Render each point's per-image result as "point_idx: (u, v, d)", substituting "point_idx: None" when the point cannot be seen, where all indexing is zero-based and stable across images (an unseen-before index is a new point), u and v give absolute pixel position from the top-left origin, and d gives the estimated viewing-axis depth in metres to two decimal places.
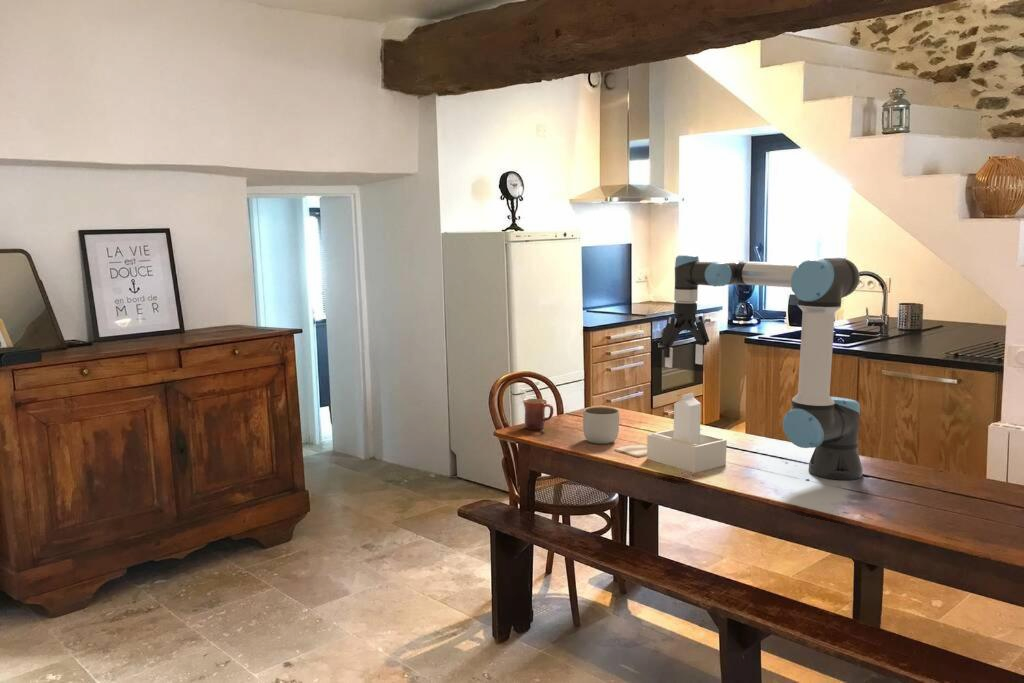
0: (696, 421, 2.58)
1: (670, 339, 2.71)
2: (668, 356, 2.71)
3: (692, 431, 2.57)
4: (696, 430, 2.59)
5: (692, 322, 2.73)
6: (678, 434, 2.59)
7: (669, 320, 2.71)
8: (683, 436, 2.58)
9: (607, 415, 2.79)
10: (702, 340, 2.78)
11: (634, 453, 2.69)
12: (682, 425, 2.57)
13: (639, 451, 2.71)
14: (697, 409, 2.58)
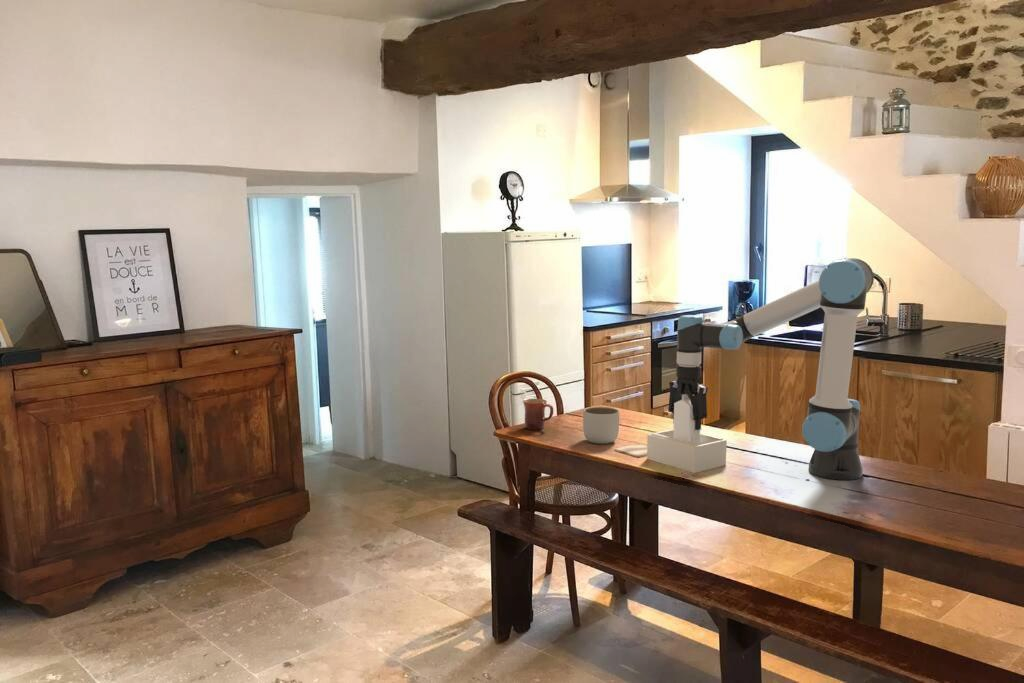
0: None
1: None
2: None
3: None
4: None
5: (687, 387, 2.56)
6: (678, 434, 2.59)
7: None
8: (683, 436, 2.58)
9: (607, 415, 2.80)
10: (694, 414, 2.55)
11: (634, 453, 2.69)
12: (682, 425, 2.57)
13: (639, 451, 2.71)
14: None
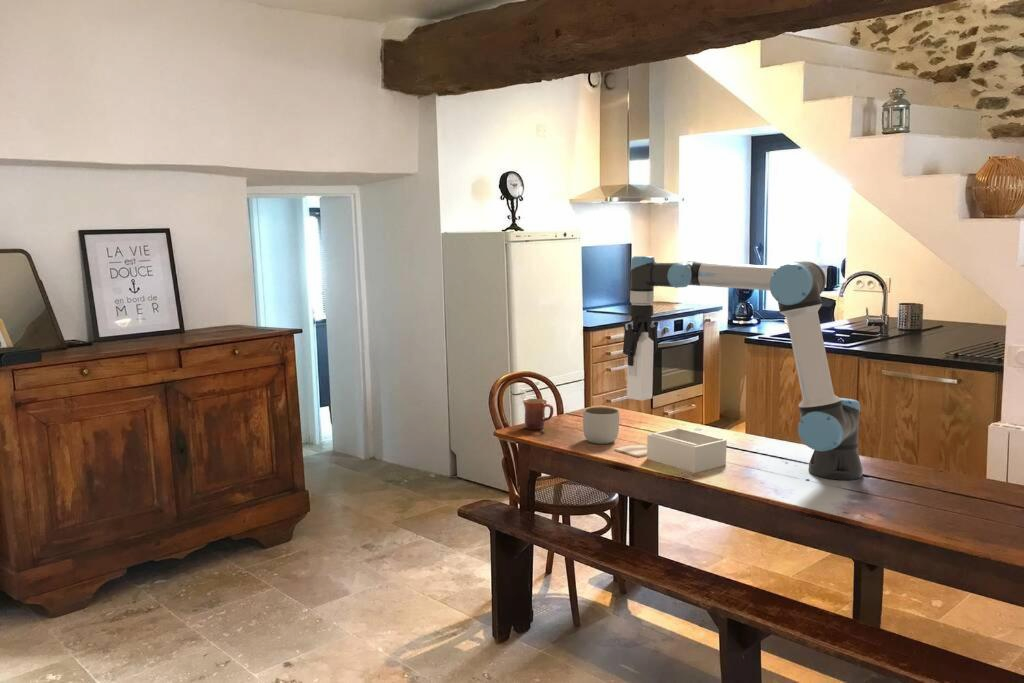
0: None
1: (632, 346, 2.66)
2: (632, 364, 2.67)
3: None
4: None
5: (648, 324, 2.68)
6: (645, 372, 2.68)
7: (626, 326, 2.65)
8: (649, 372, 2.69)
9: (607, 415, 2.80)
10: None
11: (634, 453, 2.69)
12: (648, 361, 2.68)
13: (639, 451, 2.71)
14: None
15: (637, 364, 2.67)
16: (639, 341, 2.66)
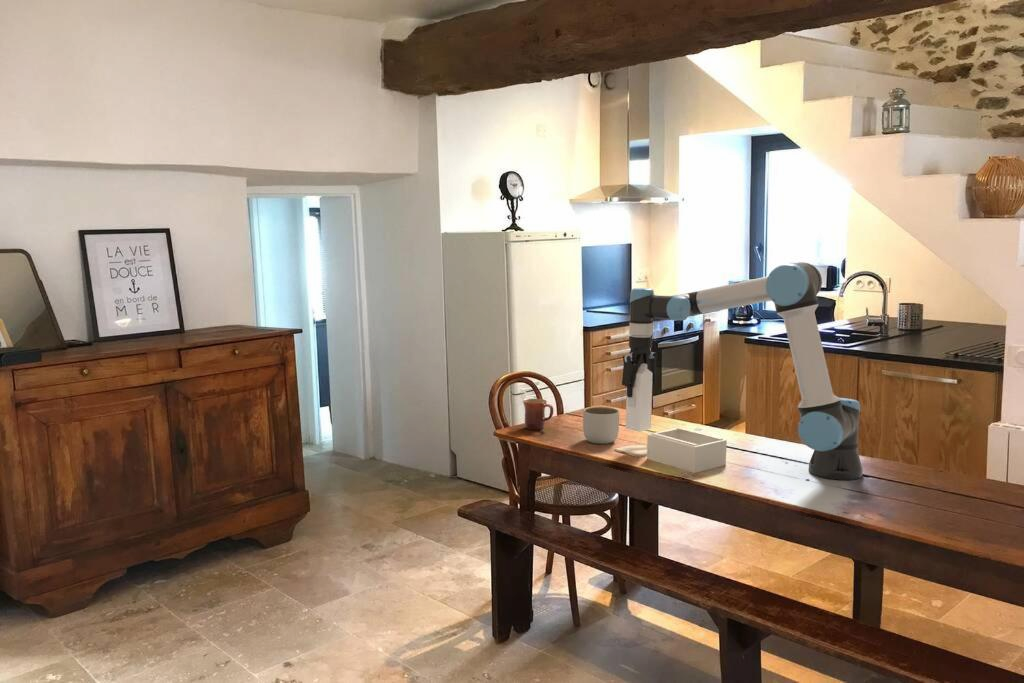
0: None
1: (631, 378, 2.68)
2: (631, 396, 2.68)
3: None
4: None
5: (647, 356, 2.69)
6: (644, 403, 2.69)
7: (625, 358, 2.66)
8: (647, 403, 2.70)
9: (607, 415, 2.80)
10: None
11: (634, 453, 2.69)
12: (647, 392, 2.70)
13: (639, 451, 2.71)
14: None
15: (636, 395, 2.69)
16: (638, 373, 2.68)
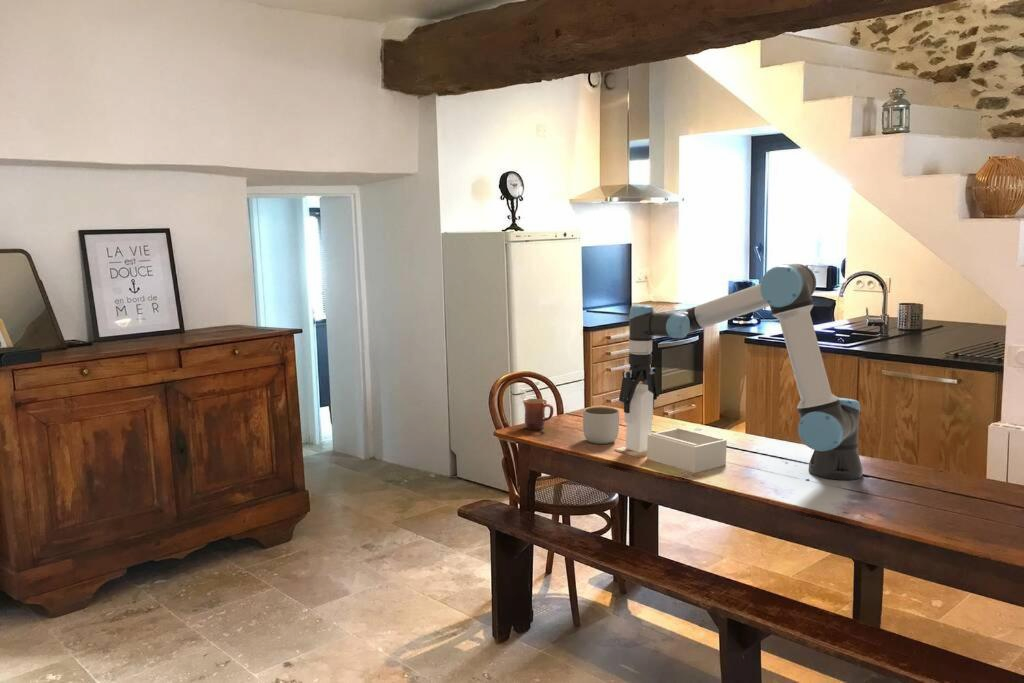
0: None
1: (629, 394, 2.68)
2: (628, 411, 2.68)
3: None
4: None
5: (647, 373, 2.70)
6: (644, 424, 2.70)
7: (624, 374, 2.67)
8: (648, 424, 2.71)
9: (607, 415, 2.80)
10: (653, 394, 2.74)
11: (634, 453, 2.69)
12: (647, 413, 2.70)
13: None
14: None
15: (636, 416, 2.69)
16: (639, 393, 2.69)
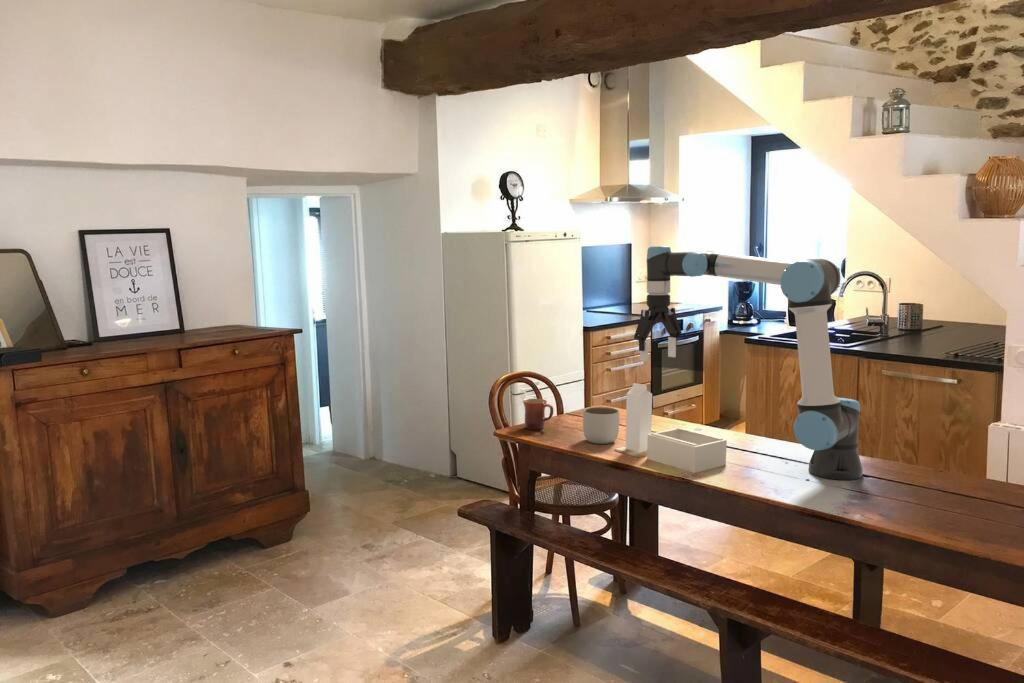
0: None
1: (645, 332, 2.65)
2: (643, 349, 2.65)
3: None
4: None
5: (665, 314, 2.68)
6: (644, 424, 2.70)
7: (643, 312, 2.65)
8: (647, 424, 2.71)
9: (607, 415, 2.79)
10: (675, 332, 2.73)
11: (634, 453, 2.69)
12: (647, 414, 2.70)
13: None
14: None
15: (635, 416, 2.69)
16: (637, 394, 2.69)
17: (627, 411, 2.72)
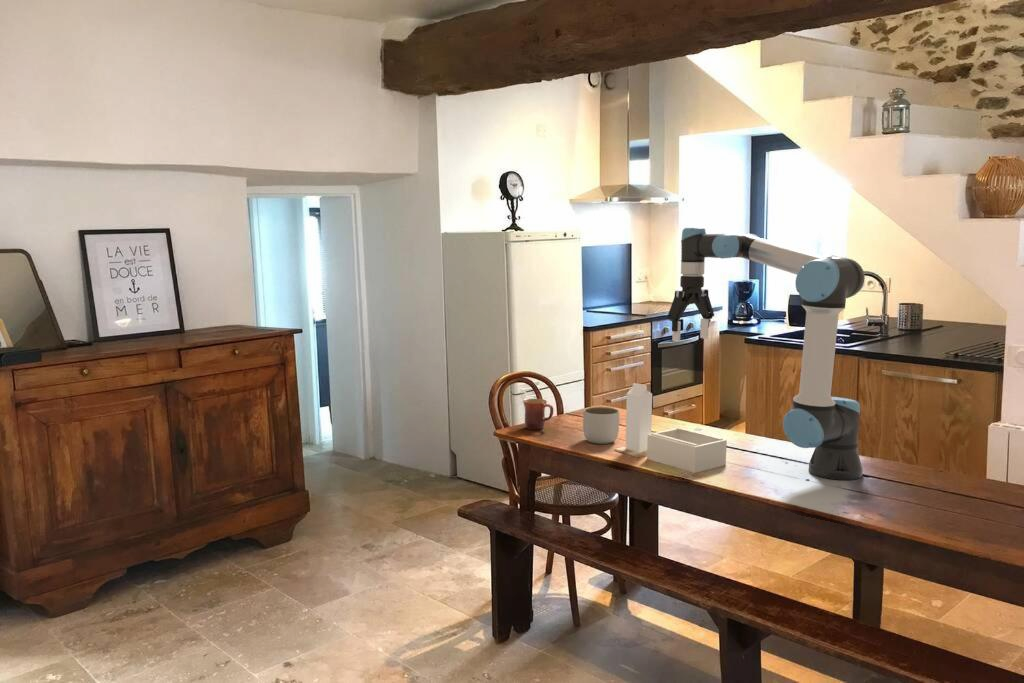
0: None
1: (678, 313, 2.67)
2: (676, 330, 2.67)
3: None
4: None
5: (699, 295, 2.70)
6: (644, 424, 2.70)
7: (677, 293, 2.67)
8: (647, 424, 2.71)
9: (607, 415, 2.79)
10: (707, 314, 2.75)
11: (634, 453, 2.69)
12: (647, 414, 2.70)
13: None
14: None
15: (635, 416, 2.69)
16: (637, 394, 2.69)
17: (627, 411, 2.72)
